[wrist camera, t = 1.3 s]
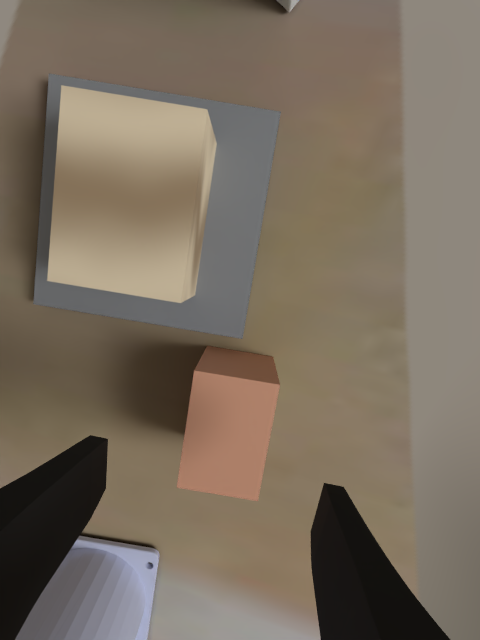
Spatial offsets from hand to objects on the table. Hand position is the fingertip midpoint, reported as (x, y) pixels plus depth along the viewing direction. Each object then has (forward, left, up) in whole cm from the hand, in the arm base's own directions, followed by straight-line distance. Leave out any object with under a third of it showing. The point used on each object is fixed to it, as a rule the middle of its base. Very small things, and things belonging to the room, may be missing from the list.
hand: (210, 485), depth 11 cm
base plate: (+9, +6, -10) cm, 15 cm away
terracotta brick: (-1, 0, -10) cm, 10 cm away
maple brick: (+9, +6, -9) cm, 14 cm away
